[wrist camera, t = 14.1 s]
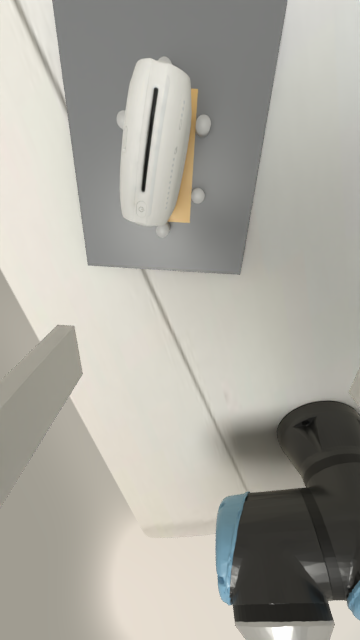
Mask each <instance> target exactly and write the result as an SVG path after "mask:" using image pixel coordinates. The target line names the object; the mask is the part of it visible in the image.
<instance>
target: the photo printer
mask: <svg viewBox="0 0 360 640" xmlns="http://www.w3.org/2000/svg"><path fill="white" fill-rule="evenodd" d="M191 115H192V109H191V81H190V78H189V76H188V75H187V74H186V73H185V72H184V71H183V70H181V69H179V68H178V67H176V66H174V65H172V64H170V63H168V62H166V61H161V60H154V59H152V58H145V59H140V60H139V61H138V62H137V63H136V66H135V69H134V72H133V75H132V78H131V81H130V85H129V90H128V97H127V103H126V110H125V118H124V127H123V137H122V149H121V163H120V202H121V210H122V215H123V217H124V218H125V219H127V220H129V221H131V222H135V223H136V224H139V225H143V226H149V227H151V226H163V225H165V224H166V223H167V221H168V220H169V218H170V216H171V214H172V212H173V210H174V208H175V205H176V202H177V199H178V194H179V190H180V185H181V180H182V175H183V170H184V165H185V160H186V154H187V148H188V142H189V135H190V129H191Z"/></svg>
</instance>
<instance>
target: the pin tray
mask: <svg viewBox="0 0 360 640" xmlns="http://www.w3.org/2000/svg"><path fill="white" fill-rule="evenodd" d="M52 2H53V9H54V17H55V24H56V32H57V39H58V46H59V54H60V61H61V69H62V76H63V83H64V91H65V98H66V106H67V113H68V121H69V128H70V135H71V143H72V150H73V158H74V165H75V173H76V180H77V187H78V195H79V202H80V210H81V217H82V224H83V232H84V239H85V247H86V254H87V262H88V265H91V266H107V267H123V268H140V269H156V270H173V271H189V272H205V273H222V274H238V275H240V272H241V266H242V261H243V255H244V249H245V243H246V237H247V232H248V226H249V220H250V214H251V208H252V203H253V197H254V191H255V185H256V179H257V174H258V168H259V162H260V156H261V150H262V145H263V139H264V133H265V127H266V121H267V116H268V110H269V104H270V98H271V92H272V87H273V81H274V75H275V69H276V63H277V58H278V52H279V46H280V40H281V35H282V29H283V23H284V17H285V11H286V6H287V0H52ZM145 58H152V59H154V60H161V61H166V62H168V63H170V64H172V65H174V66H176V67H178V68H179V69H181V70H183V71H184V72H185V73H186V74H187V75H188V76H189V78H190V81H191V109H192V115H191V129H190V135H189V142H188V148H187V154H186V160H185V165H184V170H183V175H182V180H181V185H180V190H179V194H178V199H177V202H176V205H175V208H174V210H173V212H172V214H171V216H170V218H169V220H168V221H167V223H166V224H165V225H163V226H151V227H149V226H143V225H139V224H136V223H135V222H131V221H129V220H127V219H125V218H124V217H123V215H122V210H121V202H120V163H121V149H122V137H123V127H124V118H125V110H126V103H127V97H128V90H129V85H130V81H131V78H132V75H133V72H134V69H135V66H136V63H137V62H138V61H139V60H140V59H145Z"/></svg>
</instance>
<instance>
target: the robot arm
mask: <svg viewBox="0 0 360 640" xmlns="http://www.w3.org/2000/svg"><path fill="white" fill-rule="evenodd" d="M82 374H83V373H82V367H81V361H80V356H79V350H78V344H77V338H76V333H75V327H74V326H68V325H57V326H56V327H55V328H54V329H53V330H52V331H51V332H50V333H49V334H48V335H47V336H46V337H45V338H44V339H43V340H42V341H41V342H40V343H39V344H38V345H36V346H35V348H33V349H32V350H31V351H30V352H29V353H28V355H27V356H25V357H24V358H23V359H22V360H21V361H20V362H19V363H18V364H17V365H16V366H15V367H14V368H13V369H12V370H11V371H10V372H9V373H8V374H7V375H6V376H5V377H4V378H3V379H2V380H1V381H0V508H1V506H2V505H3V503H4V501H5V500H6V498H7V497H8V495H9V493H10V492H11V490H12V488H13V487H14V485H15V484H16V482H17V480H18V478H19V477H20V475H21V474H22V472H23V471H24V469H25V467H26V466H27V464H28V462H29V461H30V459H31V457H32V456H33V454H34V452H35V451H36V449H37V448H38V446H39V444H40V443H41V441H42V440H43V438H44V436H45V435H46V433H47V431H48V429H49V428H50V426H51V425H52V423H53V422H54V420H55V418H56V417H57V415H58V413H59V412H60V410H61V409H62V407H63V405H64V404H65V402H66V400H67V399H68V397H69V395H70V394H71V392H72V391H73V389H74V387H75V386H76V384H77V382H78V381H79V379H80V378H81V376H82ZM348 393H349V394H350V395H351V397H352V398H353V399H354V400H355V402H356V403H357V404H358V406H359V407H360V368H359V371H358V373H357V375H356V377H355V379H354V381H353V383H352V386H351V388H350V390H349V392H348ZM277 436H278V439H279V442H280V445H281V448H282V450H283V452H284V453H285V454H286V455H287V457H288V458H289V460H290V461H291V463H292V464H293V465H294V467H295V468H296V470H297V471H298V472H299V474H300V475H301V476H302V478H303V481H304V483H305V486H306V488H298V489H288V490H277V491H267V492H256V493H250V492H245V494H240V495H233V496H228V497H226V498H224V499H223V501H222V502H221V504H220V506H219V510H218V515H217V523H216V570H217V574H218V588H219V593H220V596H221V599H222V600H223V602H225V603H227V604H228V605H232V604H233V610H234V618H235V626H236V627H237V629H238V630H239V631H240V632H241V634H242V635H243V637H244V638H245V639H246V640H330V637H331V634H332V631H333V628H334V625H335V624H334V620H333V617H332V614H331V611H330V608H329V604H328V601H331V600H346V601H347V604H348V607H349V609H350V610H351V611H352V612H353V615H354V616H355V617H356V618H357V619H359V620H360V416H359V414H358V413H357V412H356V411H355V410H354V409H353V408H351V407H350V406H348V405H345V404H342V403H338V402H316V403H311V404H308V405H305V406H302V407H300V408H297V409H296V410H294V411H292V412H291V413H289V414H288V415H287V416H286V417H285V418H284V419H283V420H282V421H281V423H280V424H279V427H278V430H277Z"/></svg>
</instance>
